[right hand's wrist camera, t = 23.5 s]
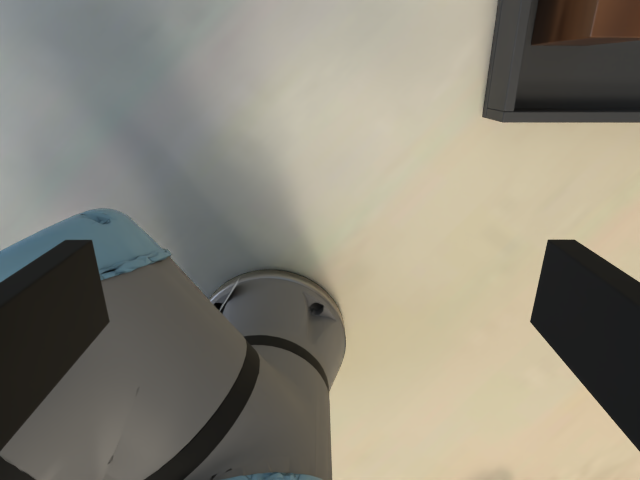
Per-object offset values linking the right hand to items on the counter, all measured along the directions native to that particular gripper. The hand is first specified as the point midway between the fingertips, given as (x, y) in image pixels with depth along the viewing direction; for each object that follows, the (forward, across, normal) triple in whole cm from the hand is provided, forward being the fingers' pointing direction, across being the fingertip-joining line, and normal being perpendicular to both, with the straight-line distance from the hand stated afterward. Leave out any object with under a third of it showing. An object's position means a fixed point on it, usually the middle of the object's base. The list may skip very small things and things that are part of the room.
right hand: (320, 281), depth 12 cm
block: (+26, -19, -10) cm, 34 cm away
